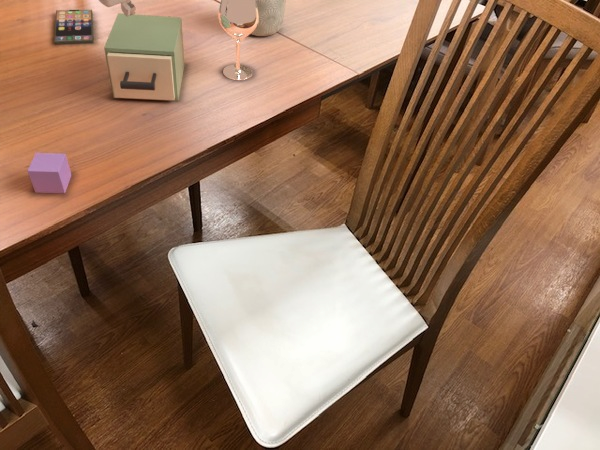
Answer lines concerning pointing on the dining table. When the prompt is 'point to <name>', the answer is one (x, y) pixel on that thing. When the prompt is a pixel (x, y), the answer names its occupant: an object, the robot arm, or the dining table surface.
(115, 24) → the green drawer cabinet
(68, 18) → the smartphone
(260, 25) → the planter
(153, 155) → the dining table surface
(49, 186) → the purple cube
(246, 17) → the wineglass
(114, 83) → the cream drawer
